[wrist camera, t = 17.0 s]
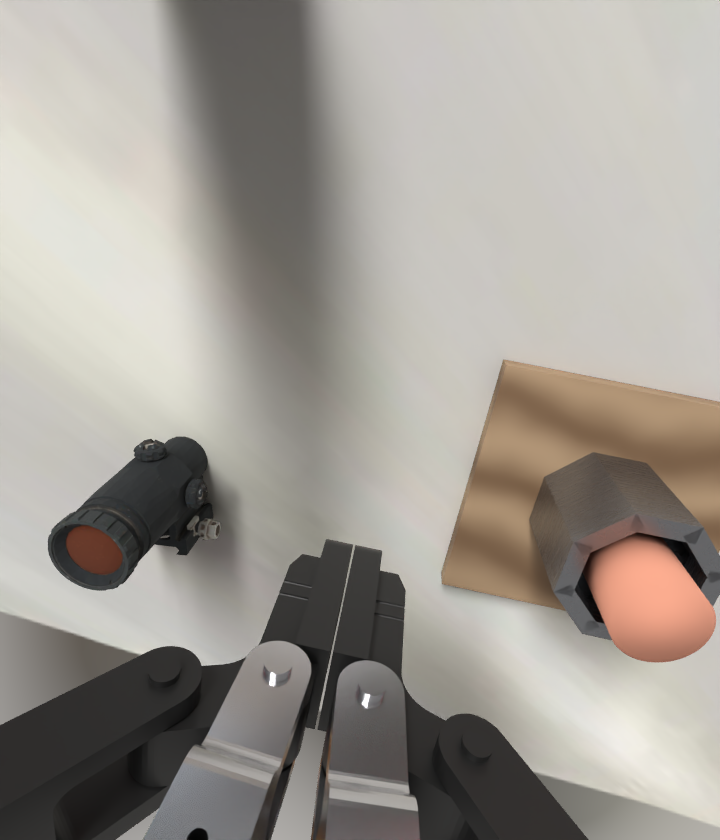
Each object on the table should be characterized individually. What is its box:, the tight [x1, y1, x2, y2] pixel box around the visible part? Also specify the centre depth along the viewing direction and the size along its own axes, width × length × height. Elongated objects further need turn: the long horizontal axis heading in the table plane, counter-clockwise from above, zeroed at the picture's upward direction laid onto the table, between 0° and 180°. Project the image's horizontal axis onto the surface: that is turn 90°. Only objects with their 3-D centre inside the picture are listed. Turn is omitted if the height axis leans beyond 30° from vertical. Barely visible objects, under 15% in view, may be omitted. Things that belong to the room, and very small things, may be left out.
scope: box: [48, 437, 221, 590], centre depth 38 cm, size 8×14×10 cm
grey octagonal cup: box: [529, 452, 720, 640], centre depth 36 cm, size 10×10×8 cm
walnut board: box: [441, 360, 720, 611], centre depth 41 cm, size 20×20×2 cm
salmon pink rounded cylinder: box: [582, 532, 716, 662], centre depth 32 cm, size 6×6×6 cm
